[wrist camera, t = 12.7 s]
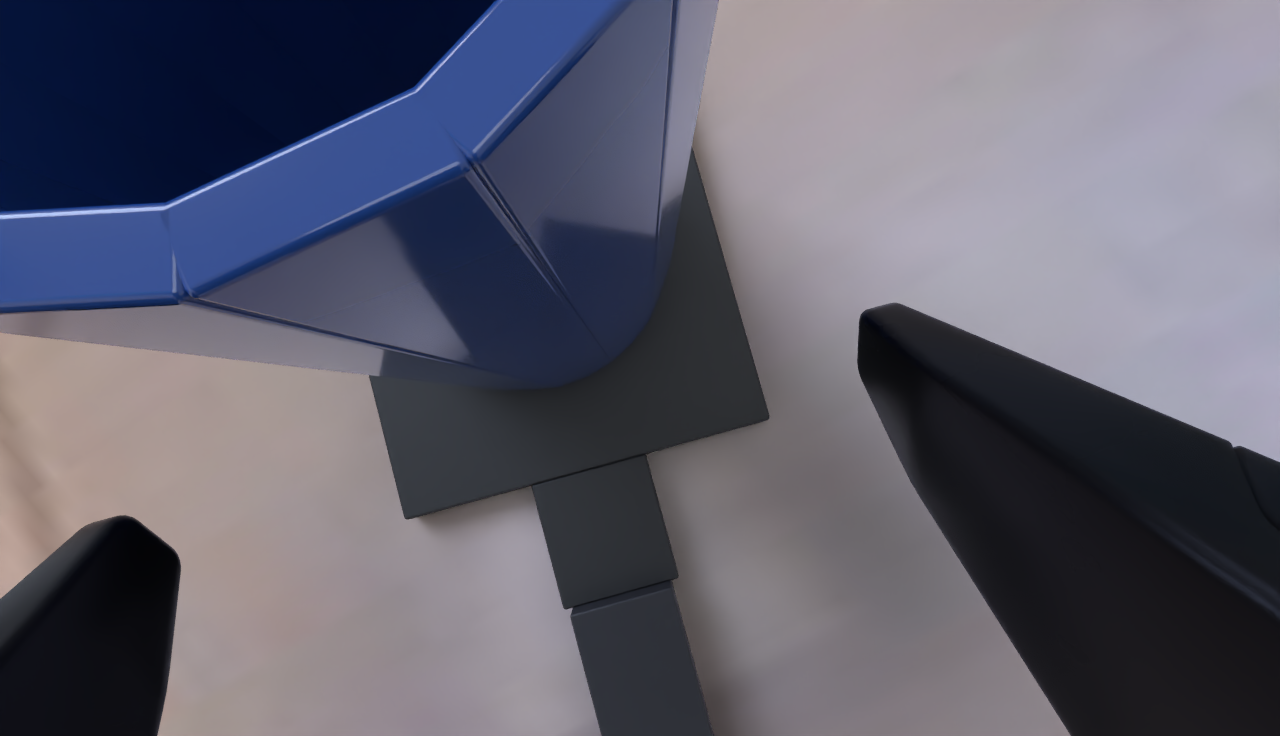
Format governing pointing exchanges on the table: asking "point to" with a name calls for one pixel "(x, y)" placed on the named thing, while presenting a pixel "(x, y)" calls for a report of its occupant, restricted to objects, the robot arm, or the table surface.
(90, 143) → the cup
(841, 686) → the table surface
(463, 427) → the spatula
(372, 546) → the table surface
